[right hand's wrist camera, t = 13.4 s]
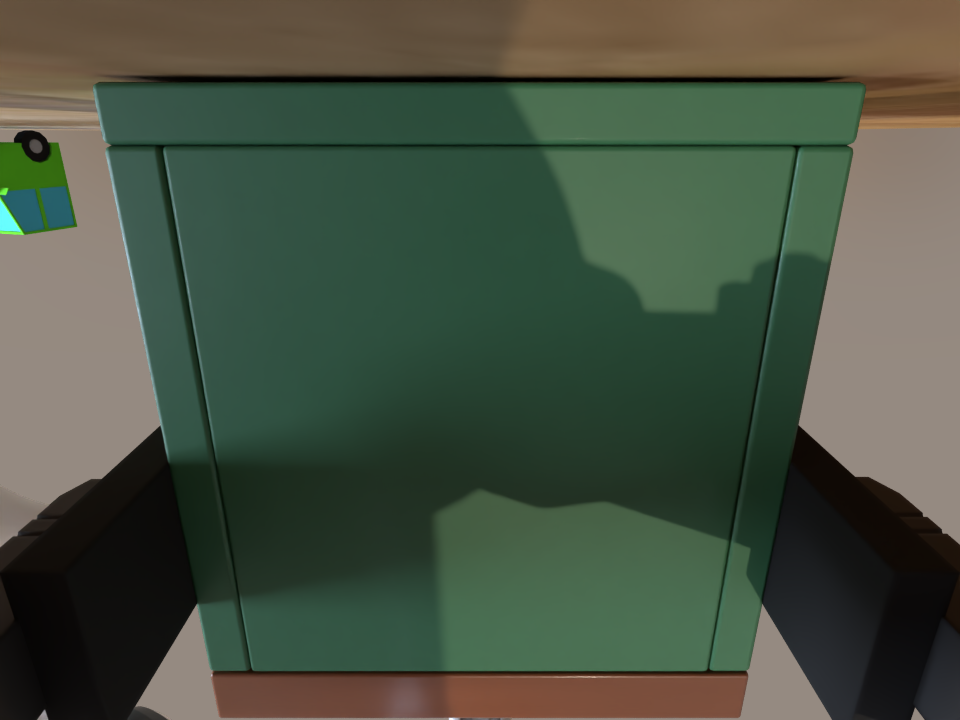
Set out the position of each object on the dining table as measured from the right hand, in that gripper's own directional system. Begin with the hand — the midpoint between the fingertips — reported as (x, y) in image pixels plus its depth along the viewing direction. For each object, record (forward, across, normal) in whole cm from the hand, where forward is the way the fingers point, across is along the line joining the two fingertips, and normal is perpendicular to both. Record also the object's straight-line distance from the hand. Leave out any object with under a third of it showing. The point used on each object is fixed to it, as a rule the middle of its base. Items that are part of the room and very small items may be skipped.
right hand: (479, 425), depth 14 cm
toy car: (+51, +51, -7) cm, 72 cm away
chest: (+4, 0, -7) cm, 8 cm away
